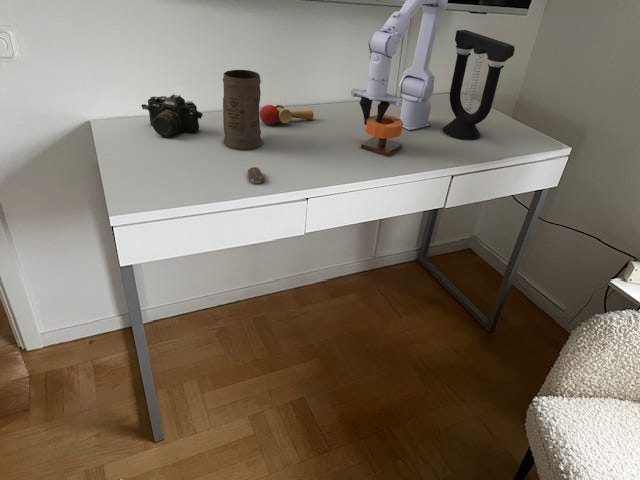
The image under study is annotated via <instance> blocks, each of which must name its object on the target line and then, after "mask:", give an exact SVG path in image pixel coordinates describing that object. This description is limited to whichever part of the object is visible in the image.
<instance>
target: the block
mask: <svg viewBox="0 0 640 480" xmlns="http://www.w3.org/2000/svg"><path fill="white" fill-rule="evenodd" d="M247 174H248V178H249V182H250V184H254V185H255V184H256V185H257V184H261V183H263V182H265V176H264V174H263V173H262V171H261V169H260V168H259V167H256V166H253V167H250V168H249V169H248V170H247Z"/></svg>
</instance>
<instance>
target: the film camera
mask: <svg viewBox="0 0 640 480" xmlns="http://www.w3.org/2000/svg"><path fill="white" fill-rule="evenodd" d="M140 106H141V109H142V110H147V111H148V114H149V123H150V126H152V128H153V130H154V131H155V133H157V135H159V136H160V137H163V138H166V137H170V136H173V135H175V134H182V133H184V132H185V133H190V134H196V133H198V132H199V129H200V125H199V120H201V119H202V117H203V113H202V112H201V111H198V107H197V104H195V103H194V102H193V101H191V100H190V101H189V100H188V101H186V100H185V98H184V97H182V96H181V95H180V94H178V95H176V94H174V93H173V94H171V95H169V96H165V95H161V96H150V98H149V99H147V104H145V103H144V104H141V105H140Z"/></svg>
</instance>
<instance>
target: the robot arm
mask: <svg viewBox="0 0 640 480" xmlns="http://www.w3.org/2000/svg"><path fill="white" fill-rule="evenodd" d="M448 2H449V0H405V1H404V3H403V5H402V6H401V8H400V9H399V10H398V11H394V12H393V13H391V15H390V16H389V18H388V19H387V20H386V22H385V23H384V25H382V27H381V28H380V30H377V31H374V32H373V33H372V34H371V35H370V37H369V40H368V42H367V50H368V59H369V68H368V75H367V76H368V77H367V83H366V84H367V85H366V89H363V88H362V89H361V88H360V89H359V88H352V89H351V90H350V97H352V98H358V99H359V98H360V100H359V106H360V108H361V111H362V114H363V124H364V126H366V123H367V119H368V118H369V117H370V116H371V110H372V105H373V102H379V103H378V104H377V114H376V115H377V121H376V122H378V123H381V121H382V118H383V116H384V115H386V112H387V110H388V109H389V107H390V106H391V105H394V106H396V107H400V106H401V109H400V115H399V119H401V121H402V122H403V127H402V128H403V129H405V130H408V131H413V130H418V129H422V128H426V127H430V124H429V118H430V114H431V108H432V104H431V100H430V99H431V97H432V96H433V93H434V90H435V75H434V74H433V72H431V71H432V70H430V69H429V65H430V61H431V57H432V52H433V49H434V44H435V40H436V36H437V32H438V31H437V30H438V26H439V22H440V17H441V14H442V12H444V11H446V9H447V6H448ZM420 9H421V10H422V19H421V22H420V23H421V24H420V28H419V33H418V37H417V42H416V47H415V51H414V56H413V60H412V65H411V66H410V67H408V68H407V69H405V70H404V71H403V74H402V77H401V79H400V81H399V85H398V90H399V94H401V95H400V96H401V97H399V96H396V95H393V94H390V93H388V87H389V81H390V74H391V67H392V60H393V57H394V55H396V53H397V52H398V48H399V45H400V43H401V38H402V37H403V36H404V35H405V33H406V32H407V31H408V30H409V28H410V25H411V21H410V20H411V19H412V18H413V17H414V16H415V14H416V13H417V12H418V11H419V10H420Z"/></svg>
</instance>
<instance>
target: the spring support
mask: <svg viewBox="0 0 640 480" xmlns="http://www.w3.org/2000/svg"><path fill="white" fill-rule="evenodd" d="M454 41H455V44H456V46H455V49H456V60H455V64H454V69H453V74H452V78H451V79H452V80H451V85H450V88H449V104H450V109H451V112H452V113H453V115H454V116H455V118H454V119H453V120H451V121H450V122H449V123H447V125H445V126H444V127H443V128H442V132H443V134H445V135H446V136H448V137H450V138H453V139H458V140H463V141H472V140H477V139H479V138H480V137H481V133H480V131H479V129H478V127H477V125H478V124H479V123H481V122H483V121H484V120H485V119H486V118H487V117H488V116H489V114H490V112H491V110H492V107H493V103H494V98H495V95H496V91H497V87H498V83H499V79H500V76H501V72H502V69H503V68H504V67H505V65H504V64H505V63H506V61H508V60H509V59H511V58H512V57H513V56H514V53H515V51H516V50H515V49H516V48H515V45H513V44H510V43H507V42H504V41H501V40H498V39H495V38H491V37H489V36H486V35H482V34H480V33H476V32H474V31H471V30H468V29H458V30H456V31H455V36H454ZM471 51H473V53H474V54H475V55H478V58H476V59H475V62H474V66H473V71H472V75H471V80H470V83H469V88H468V91H467V92H468V93H467V96H466V98H467V99H466V101H465V105H464V107H463V104H462V97H461V95H462V94H461V92H462V88H463V83H464V80H465V79H464V78H465V75H466V70H467V64H468V60H469V57H470V56H471ZM485 54H486V56H487V66H488V70H487V75H486V79H485V82H484V88H483V91H482V94H481V95H482V96H481V100H480V103H479V106H478V108H477V110H476V111H475V112H473V113H470V112H469V111H471V109H472V107H471V106H473V104H472V103H473V101H474V98H475V96H474V95H475V93H476V89H477V88H476V87H477V84H478V79H479V76H480V72H481V67H482V65H481V64H482V63H483V62H482V61H479V60H480V59H482V58H483V57H484V55H485Z"/></svg>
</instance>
